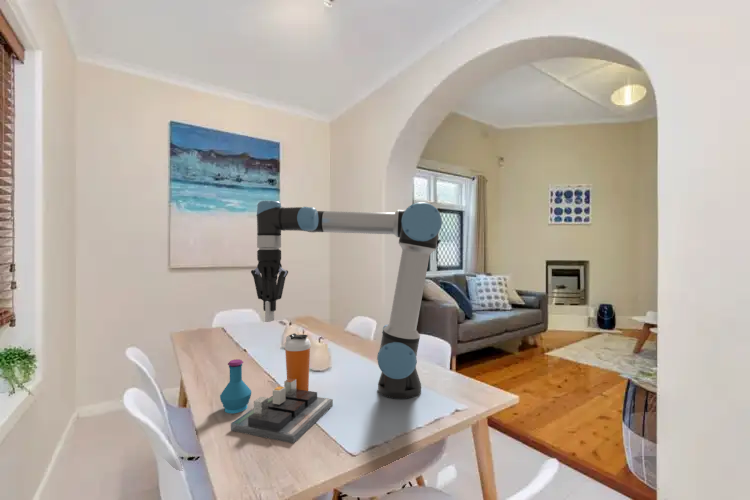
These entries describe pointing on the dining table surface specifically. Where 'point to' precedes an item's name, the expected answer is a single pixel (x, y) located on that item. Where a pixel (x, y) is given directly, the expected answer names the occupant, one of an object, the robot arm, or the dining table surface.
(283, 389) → the breaker handle
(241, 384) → the perfume bottle
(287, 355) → the shaker bottle
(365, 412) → the dining table surface
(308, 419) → the panel
